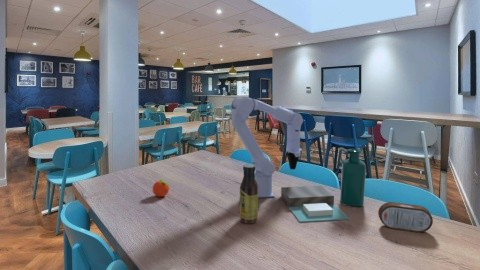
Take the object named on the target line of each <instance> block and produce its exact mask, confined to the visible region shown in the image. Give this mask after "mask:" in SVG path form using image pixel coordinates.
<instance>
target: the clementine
mask: <svg viewBox="0 0 480 270" xmlns="http://www.w3.org/2000/svg"><path fill="white" fill-rule="evenodd" d="M169 191H170V185H169V183H168V182H167V181H165V180H161V179H160V180H158V181H156V182H155V183H154V184H153V186H152V192H153V194H154V195H155V196H156V197H165V196H166V195H168V194H169Z"/></svg>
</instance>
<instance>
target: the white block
mask: <svg viewBox="0 0 480 270" xmlns="http://www.w3.org/2000/svg"><path fill="white" fill-rule="evenodd" d="M303 210H304V211H305V212H306V214H307V215H308V216H324V215H333V209H332V208H331V207H330V206H329V205H327V204H326V203H318V204H303Z"/></svg>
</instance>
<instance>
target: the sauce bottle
mask: <svg viewBox="0 0 480 270" xmlns="http://www.w3.org/2000/svg"><path fill="white" fill-rule="evenodd" d="M242 170H243V177H242V181H241V183H240V186H239V218H240V219H239V220H240V221H241V222H242V223H243V224H254V223H256V222H257V221H258V211H259V197H258V184H257V182H256V180H255V179H254V178H255V172H256V170H255V165H253V163H252V164H251V163H246V164H244V165H242Z"/></svg>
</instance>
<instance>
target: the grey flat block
mask: <svg viewBox="0 0 480 270" xmlns="http://www.w3.org/2000/svg"><path fill="white" fill-rule="evenodd" d="M280 197H281V198H282V200H283V201H284V203H285V204H286V205H287V207H288V208H289V207H298V206H303V204H318V203H326V204H327V205H335V195H334V194H333V193H331V192H330V191H329V190H327V188H325V187H324V186H323V185H308V186H307V185H306V186H287V187H286V186H285V187H284V186H282V187H281V190H280Z"/></svg>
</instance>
